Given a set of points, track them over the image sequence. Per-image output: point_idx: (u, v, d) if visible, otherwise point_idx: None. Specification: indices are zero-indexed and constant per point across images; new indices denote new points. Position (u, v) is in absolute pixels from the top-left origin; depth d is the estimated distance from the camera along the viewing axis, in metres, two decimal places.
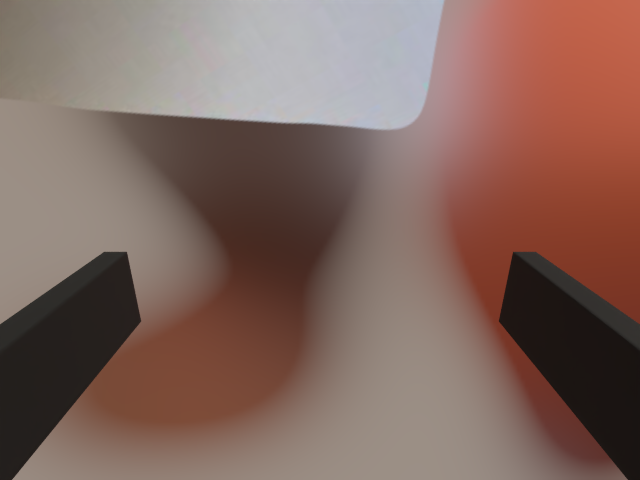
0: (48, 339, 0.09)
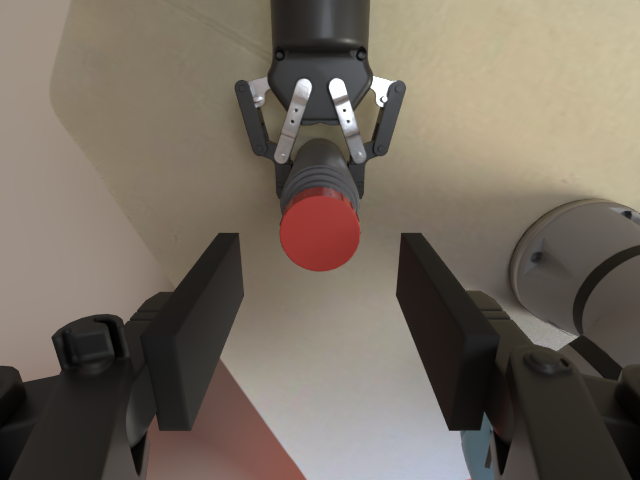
0: (211, 299, 0.10)
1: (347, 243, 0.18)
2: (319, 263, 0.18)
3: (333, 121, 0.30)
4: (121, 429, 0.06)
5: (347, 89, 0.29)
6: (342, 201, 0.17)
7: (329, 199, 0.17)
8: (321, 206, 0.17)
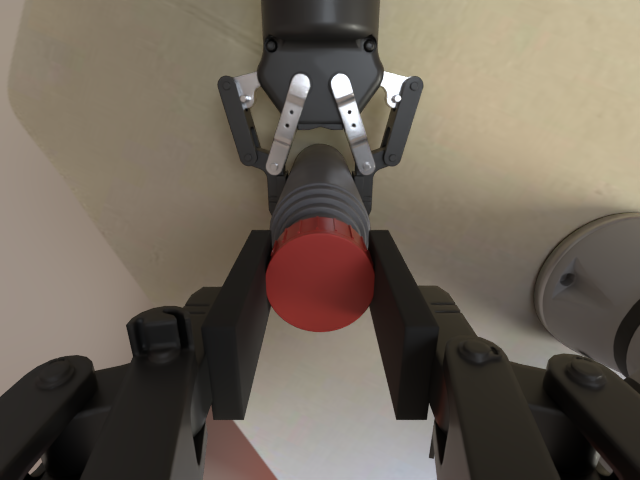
0: (255, 293, 0.11)
1: (357, 296, 0.13)
2: (319, 322, 0.13)
3: (336, 125, 0.25)
4: (186, 420, 0.06)
5: (353, 87, 0.24)
6: (351, 240, 0.12)
7: (333, 238, 0.12)
8: (322, 247, 0.12)
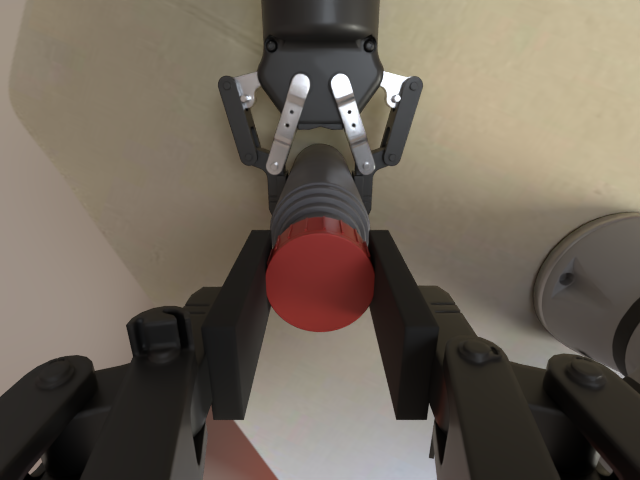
0: (255, 293, 0.11)
1: (321, 248, 0.12)
2: (361, 275, 0.13)
3: (336, 125, 0.25)
4: (186, 420, 0.06)
5: (353, 87, 0.24)
6: (267, 268, 0.13)
7: (268, 287, 0.13)
8: (280, 293, 0.13)
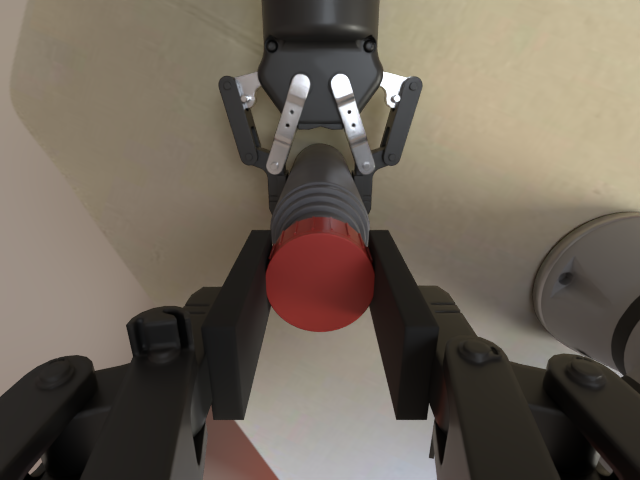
0: (255, 293, 0.11)
1: (281, 294, 0.13)
2: (296, 251, 0.12)
3: (336, 125, 0.25)
4: (187, 420, 0.06)
5: (352, 87, 0.24)
6: None
7: (336, 327, 0.13)
8: (339, 315, 0.13)
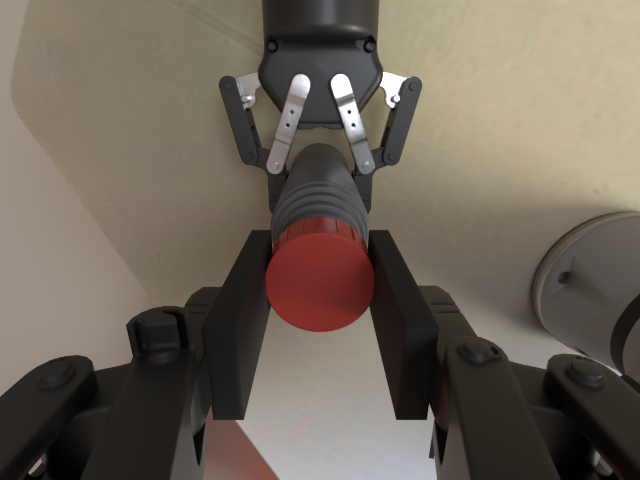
0: (255, 293, 0.11)
1: (340, 314, 0.13)
2: (292, 312, 0.13)
3: (336, 125, 0.25)
4: (186, 419, 0.06)
5: (352, 87, 0.24)
6: (373, 269, 0.13)
7: (364, 258, 0.12)
8: (349, 258, 0.12)
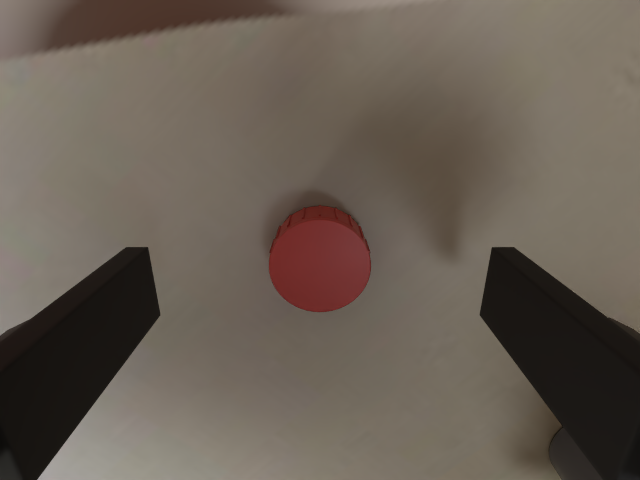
0: (81, 329, 0.09)
1: (338, 295, 0.14)
2: (294, 294, 0.14)
3: None
4: None
5: None
6: (368, 253, 0.14)
7: (360, 242, 0.13)
8: (346, 242, 0.14)
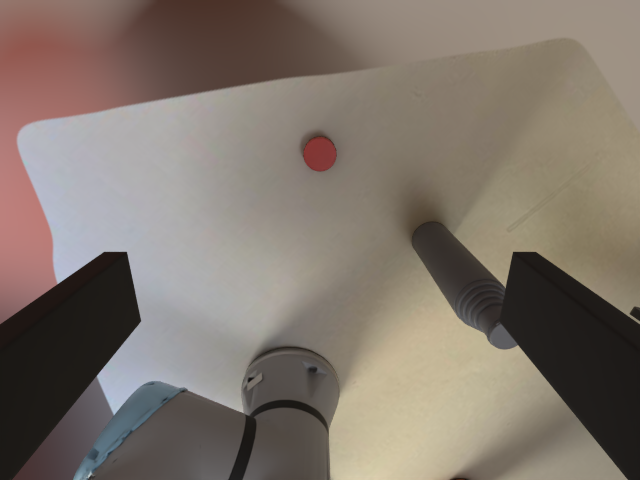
0: (48, 339, 0.09)
1: (325, 165, 0.44)
2: (311, 164, 0.44)
3: None
4: None
5: None
6: (335, 150, 0.43)
7: (332, 145, 0.43)
8: (328, 146, 0.43)
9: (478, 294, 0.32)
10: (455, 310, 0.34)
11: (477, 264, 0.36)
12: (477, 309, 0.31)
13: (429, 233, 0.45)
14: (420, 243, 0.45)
